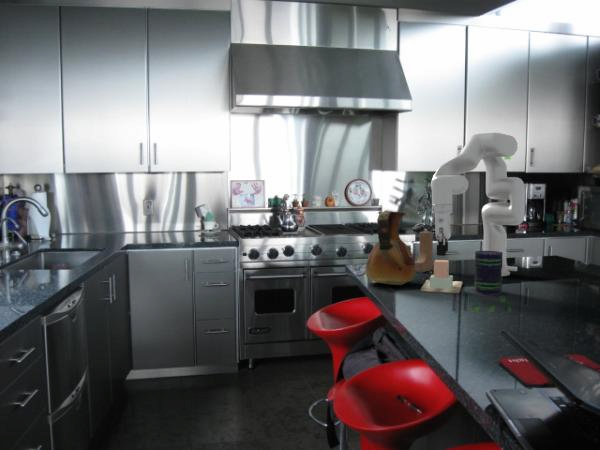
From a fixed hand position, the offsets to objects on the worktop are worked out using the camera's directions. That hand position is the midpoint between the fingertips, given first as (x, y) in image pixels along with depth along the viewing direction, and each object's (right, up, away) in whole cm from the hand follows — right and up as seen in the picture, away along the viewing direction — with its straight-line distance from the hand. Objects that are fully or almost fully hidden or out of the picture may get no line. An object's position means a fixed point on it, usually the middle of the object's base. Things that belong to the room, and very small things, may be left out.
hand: (442, 253), depth 207 cm
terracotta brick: (0, -9, 0) cm, 9 cm away
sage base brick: (0, -13, +1) cm, 13 cm away
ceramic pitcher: (-18, -13, +12) cm, 25 cm away
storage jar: (+16, -14, -5) cm, 22 cm away
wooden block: (+2, -11, +42) cm, 44 cm away
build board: (+1, -14, +4) cm, 14 cm away
